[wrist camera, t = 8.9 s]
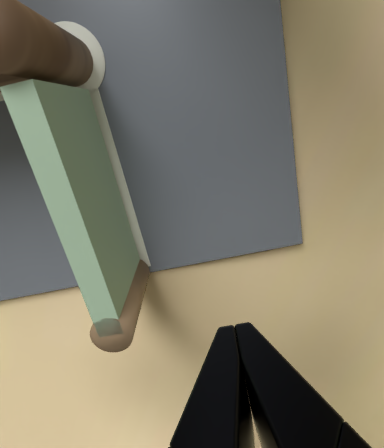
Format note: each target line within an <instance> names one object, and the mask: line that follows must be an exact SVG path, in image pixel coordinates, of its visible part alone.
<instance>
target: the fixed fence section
mask: <svg viewBox="0 0 384 448" xmlns="http://www.w3.org/2000/svg"><path fill="white" fill-rule="evenodd" d="M92 71H93V58H92V55H91V52H90V50H89V48H88V47H87V46H86V44H85V43H84V42H83V41H81V40H80V39H79V38H77V37H75V36H74V35H72V34H71V33H69V32H67V31H66V30H64V29H63V28H61V27H59V26H58V25H56V24H54V23H53V22H51V21H50V20H48V19H46V18H45V17H43V16H42V15H40V14H38V13H37V12H35V11H34V10H32V9H30V8H29V7H27V6H26V5H24V4H22V3H21V2H19V1H18V0H0V87H1V86H5V85H9V84H13V83H17V82H22V81H26V80H30V79H35V80H40V81H45V82H51V83H56V84H61V85H67V86H72V87H78V86H81V85H83V84H84V83H86V82H87V81H88V79H89V78H90V76H91V74H92ZM0 92H1V90H0Z"/></svg>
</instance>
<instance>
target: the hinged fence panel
mask: <svg viewBox="0 0 384 448" xmlns="http://www.w3.org/2000/svg"><path fill="white" fill-rule="evenodd" d="M0 90H1V93H2V95H3V98H4V100H5V103H6V105H7V108H8V110H9V113H10V115H11V118H12V120H13V123H14V125H15V128H16V130H17V133H18V135H19V138H20V140H21V143H22V145H23V148H24V150H25V153H26V155H27V158H28V160H29V163H30V165H31V168H32V170H33V173H34V175H35V178H36V180H37V183H38V185H39V188H40V190H41V193H42V195H43V198H44V201H45V203H46V206H47V208H48V211H49V213H50V216H51V218H52V221H53V223H54V226H55V228H56V231H57V233H58V236H59V238H60V241H61V243H62V246H63V248H64V251H65V253H66V256H67V258H68V261H69V263H70V266H71V268H72V271H73V273H74V276H75V278H76V281H77V283H78V286H79V288H80V291H81V293H82V296H83V298H84V301H85V303H86V306H87V308H88V311H89V313H90V316H91V318H92V321H93V325H92V327H91V330H90V337H91V340H92V342H93V343H94V344H95V345H96V346H97V347H98V348H100V349H101V350H104V351H107V352H120V351H123V350H125V349H126V348H128V347H129V346H130V344H131V342H132V340H133V336H134V332H135V328H136V324H137V320H138V316H139V313H140V309H141V305H142V301H143V297H144V293H145V289H146V286H147V282H148V278H149V274H150V270H149V267H148V265H147V264H146V263H145V262H144V261H143V260H141V259H140V258H139V254H138V251H137V248H136V244H135V241H134V238H133V234H132V231H131V228H130V225H129V221H128V218H127V215H126V211H125V208H124V205H123V201H122V198H121V195H120V192H119V188H118V185H117V182H116V178H115V175H114V172H113V169H112V165H111V162H110V159H109V155H108V152H107V149H106V145H105V142H104V139H103V136H102V132H101V129H100V126H99V122H98V119H97V116H96V112H95V109H94V106H93V103H92V99H91V96H90V93H89V90H88V89H83V88H77V87H72V86H67V85H61V84H56V83H51V82H45V81H40V80H35V79H30V80H26V81H22V82H17V83H13V84H9V85H5V86H1V87H0Z"/></svg>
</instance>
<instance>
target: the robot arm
mask: <svg viewBox="0 0 384 448" xmlns="http://www.w3.org/2000/svg"><path fill="white" fill-rule="evenodd" d="M235 331H236V332H235ZM236 336H237V337H236ZM246 387H247V388H246ZM247 392H248V393H247ZM248 397H249V398H248ZM249 402H250V403H249ZM250 407H251V408H250ZM251 411H252V414H251ZM252 416H253V419H254V423H255V426H256V430H257V433H258V436H259V439H260V443H261V446H262V448H372V447H371V446H370V445H369V444H368V443H367V442H366V441H364V440H363V439H362V438H361V436H360V435H359V434H358V433H357V432H356V431H355V430H354V429H353V428H352V427H351V426H350V425H349V424H348V423H347V422H344V420H343V418H342V417H341V416H340V415H339V414H338V413H337V412H336V411H335V410H334V409H333V408H332V407H331V406H330V405H329V404H328V403H327V401H326V400H325V399H324V398H323V397H322V396H321V395H320V394H319V393H318V392H317V391H316V390H315V389H314V388H313V387H312V386H311V385H310V384H309V383H308V382H307V381H306V380H305V379H304V378H303V377H302V376H301V375H300V374H299V373H298V371H297V370H296V369H295V368H294V367H293V366H292V365H291V364H290V363H289V362H288V361H287V360H286V359H285V358H284V357H283V356H282V355H281V354H280V353H279V352H278V351H277V350H276V349H275V348H274V347H273V346H272V345H271V344H270V343H269V341H268V340H267V339H266V338H265V337H264V336H263V335H262V334H261V333H260V332H259V331H258V330H257V329H256V328H255V327H254V326H253V325H252V324H251V323H249V322H247V323H241V324H236V325H235V327H234V326H233V325H230V326H224V327H220V328H218V330H217V333H216V335H215V337H214V340H213V342H212V344H211V347H210V349H209V352H208V354H207V356H206V359H205V361H204V363H203V366H202V368H201V371H200V373H199V375H198V378H197V380H196V382H195V385H194V387H193V390H192V392H191V394H190V397H189V399H188V402H187V404H186V406H185V409H184V411H183V413H182V416H181V418H180V421H179V423H178V425H177V428H176V430H175V432H174V435H173V437H172V440H171V442H170V447H168V448H255V444H254V432H253V422H252Z"/></svg>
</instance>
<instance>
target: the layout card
mask: <svg viewBox="0 0 384 448" xmlns="http://www.w3.org/2000/svg"><path fill="white" fill-rule="evenodd" d="M18 1H19V2H21V3H22V4H24V5H26V6H27V7H29V8H30V9H32V10H34V11H35V12H37V13H38V14H40V15H42V16H43V17H45V18H46V19H48V20H50V21H51V22H53V23H54V24H56V25H58V26H59V27H61V28H63V29H64V30H66V31H67V32H69V33H71V34H72V35H74V36H75V37H77V38H79V39H80V40H81V41H83V42H84V43H85V44H86V46H87V47H88V48H89V50H90V52H91V55H92V58H93V71H92V74H91V76H90V78H89V79H88V81H87V82H86V83H84V84H83V85H81V86H78V87H77V88H83V89H88V90H89V93H90V96H91V99H92V103H93V106H94V109H95V112H96V116H97V119H98V122H99V126H100V129H101V132H102V136H103V139H104V142H105V145H106V149H107V152H108V155H109V159H110V162H111V165H112V169H113V172H114V175H115V178H116V182H117V185H118V188H119V192H120V195H121V198H122V201H123V205H124V208H125V211H126V215H127V218H128V221H129V225H130V228H131V231H132V234H133V238H134V241H135V244H136V248H137V251H138V254H139V258H140V259H141V260H143V261H144V262H145V263H146V264H147V265H148V267H149V270H150V272H155V271H160V270H165V269H170V268H176V267H181V266H186V265H192V264H197V263H202V262H207V261H213V260H218V259H223V258H228V257H234V256H239V255H244V254H250V253H255V252H260V251H265V250H271V249H276V248H281V247H286V246H292V245H297V244H302V232H301V221H300V210H299V199H298V188H297V178H296V167H295V156H294V145H293V134H292V123H291V112H290V101H289V91H288V80H287V69H286V58H285V47H284V36H283V25H282V15H281V4H280V0H18ZM76 286H78V283H77V281H76V278H75V276H74V273H73V271H72V268H71V266H70V263H69V261H68V258H67V256H66V253H65V251H64V248H63V246H62V243H61V241H60V238H59V236H58V233H57V231H56V228H55V226H54V223H53V221H52V218H51V216H50V213H49V211H48V208H47V206H46V203H45V201H44V198H43V195H42V193H41V190H40V188H39V185H38V183H37V180H36V178H35V175H34V173H33V170H32V168H31V165H30V163H29V160H28V158H27V155H26V153H25V150H24V148H23V145H22V143H21V140H20V138H19V135H18V133H17V130H16V128H15V125H14V123H13V120H12V118H11V115H10V113H9V110H8V108H7V105H6V103H5V100H4V98H3V95H2V93H1V92H0V301H2V300H7V299H12V298H18V297H23V296H28V295H33V294H39V293H44V292H49V291H55V290H60V289H65V288H70V287H76Z"/></svg>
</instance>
